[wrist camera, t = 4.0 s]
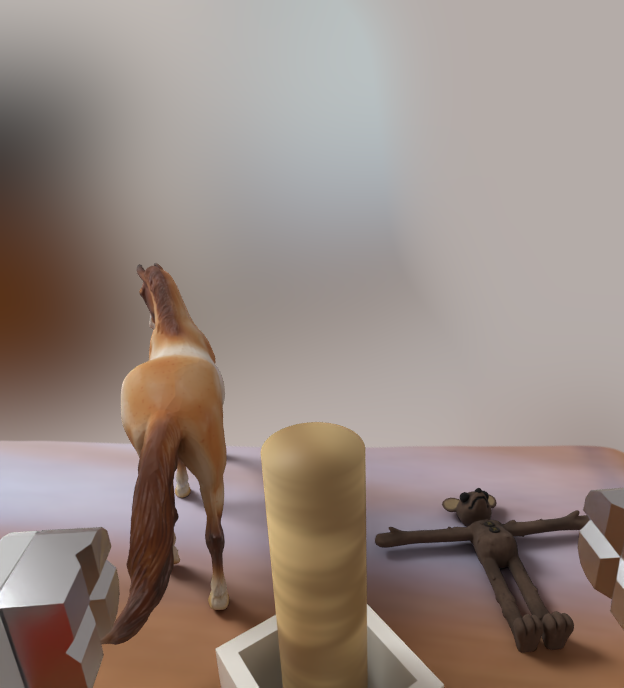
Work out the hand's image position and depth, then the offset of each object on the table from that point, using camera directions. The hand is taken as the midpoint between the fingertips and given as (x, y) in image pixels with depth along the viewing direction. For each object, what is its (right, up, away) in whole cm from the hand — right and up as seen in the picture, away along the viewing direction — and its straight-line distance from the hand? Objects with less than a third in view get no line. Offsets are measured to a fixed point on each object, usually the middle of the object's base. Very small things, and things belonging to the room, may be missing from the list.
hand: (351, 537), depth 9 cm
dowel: (0, -18, +20) cm, 27 cm away
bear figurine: (+14, -14, +32) cm, 38 cm away
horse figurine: (-13, -13, +37) cm, 41 cm away
